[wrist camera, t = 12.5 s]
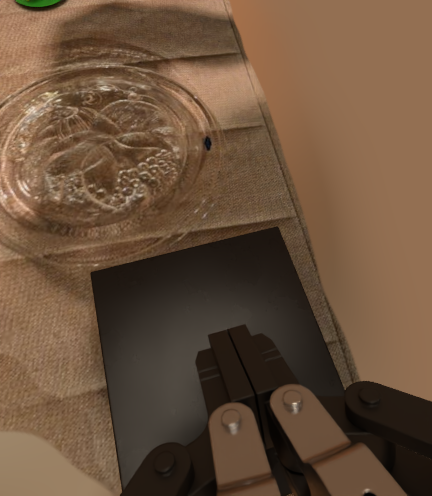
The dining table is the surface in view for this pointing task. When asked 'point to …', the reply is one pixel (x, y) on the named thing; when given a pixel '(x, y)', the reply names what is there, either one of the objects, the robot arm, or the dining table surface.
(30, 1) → the green plate with lemons
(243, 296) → the black square slab
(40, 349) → the dining table surface
